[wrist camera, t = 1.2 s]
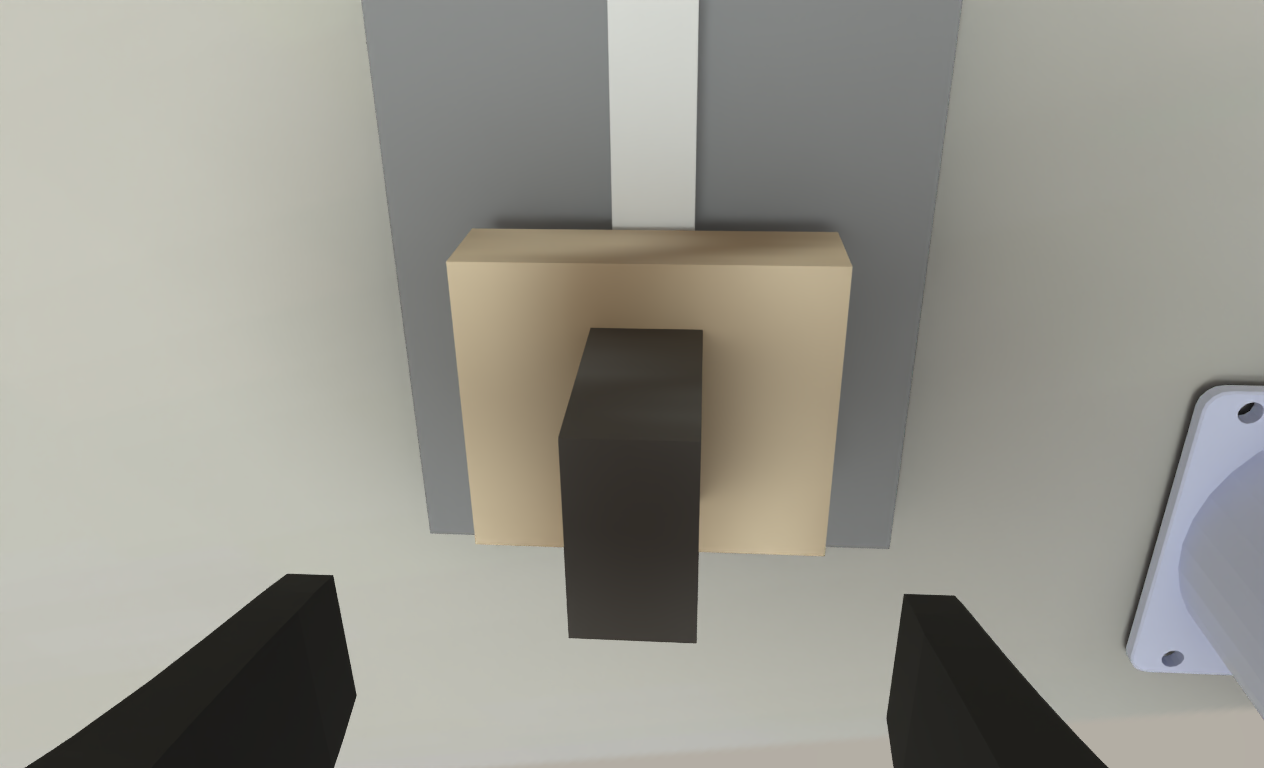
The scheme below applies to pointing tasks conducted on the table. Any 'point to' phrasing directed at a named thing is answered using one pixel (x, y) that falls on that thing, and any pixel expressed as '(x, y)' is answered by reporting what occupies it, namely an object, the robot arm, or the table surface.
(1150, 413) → the table surface
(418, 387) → the track
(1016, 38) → the table surface
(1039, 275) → the table surface
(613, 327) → the carriage
